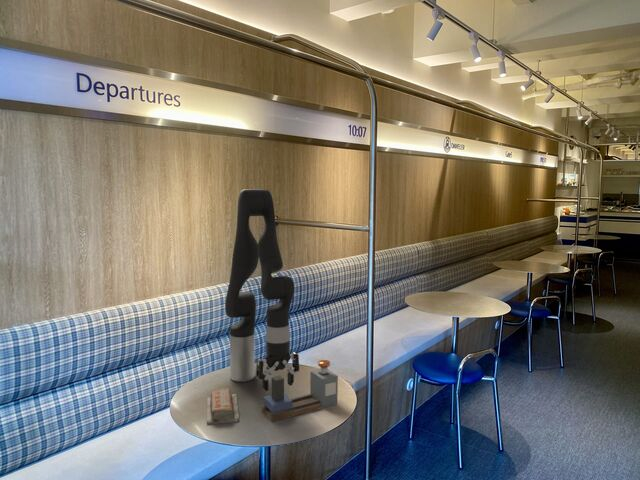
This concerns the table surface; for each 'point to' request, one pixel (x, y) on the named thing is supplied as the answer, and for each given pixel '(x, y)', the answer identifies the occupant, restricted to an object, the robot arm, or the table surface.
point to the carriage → (277, 396)
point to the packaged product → (222, 407)
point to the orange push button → (324, 366)
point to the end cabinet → (324, 388)
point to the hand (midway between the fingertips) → (278, 387)
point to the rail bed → (294, 408)
